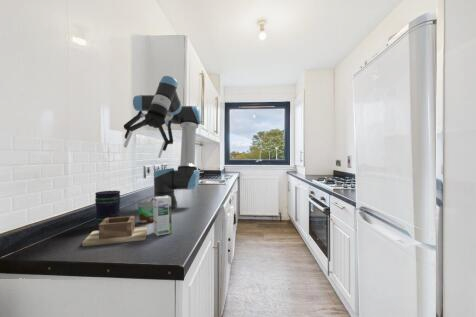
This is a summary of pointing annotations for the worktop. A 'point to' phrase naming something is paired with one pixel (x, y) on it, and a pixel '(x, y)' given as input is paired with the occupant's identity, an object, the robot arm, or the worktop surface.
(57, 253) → the worktop surface
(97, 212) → the storage jar
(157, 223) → the syrup box
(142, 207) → the food container
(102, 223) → the box
